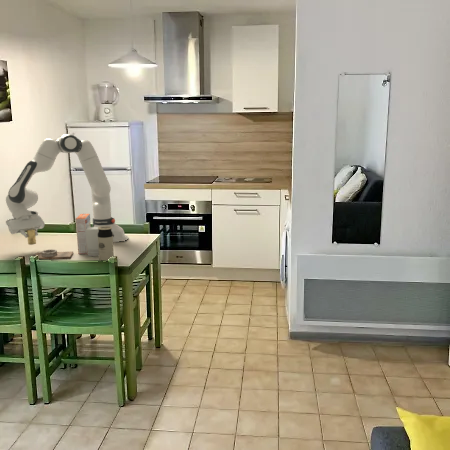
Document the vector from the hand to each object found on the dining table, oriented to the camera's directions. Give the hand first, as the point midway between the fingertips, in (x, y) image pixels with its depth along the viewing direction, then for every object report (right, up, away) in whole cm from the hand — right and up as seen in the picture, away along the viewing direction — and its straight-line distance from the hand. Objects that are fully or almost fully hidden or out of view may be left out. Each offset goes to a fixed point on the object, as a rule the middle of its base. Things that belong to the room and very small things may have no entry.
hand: (31, 236), depth 296 cm
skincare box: (+37, -11, -3) cm, 39 cm away
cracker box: (+29, -9, +5) cm, 31 cm away
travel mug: (+46, -13, -12) cm, 49 cm away
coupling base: (+15, -11, -7) cm, 20 cm away
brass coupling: (0, -4, +1) cm, 5 cm away
